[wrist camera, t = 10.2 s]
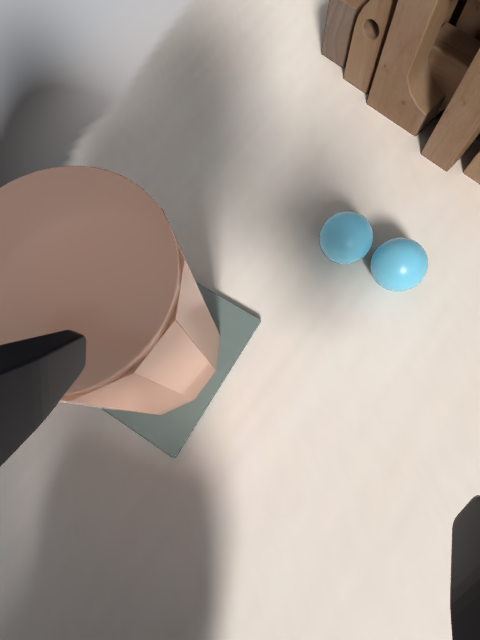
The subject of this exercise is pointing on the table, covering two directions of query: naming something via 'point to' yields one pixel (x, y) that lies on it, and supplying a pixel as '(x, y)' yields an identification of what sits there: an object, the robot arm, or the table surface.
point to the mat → (181, 421)
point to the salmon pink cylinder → (105, 288)
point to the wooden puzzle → (414, 67)
